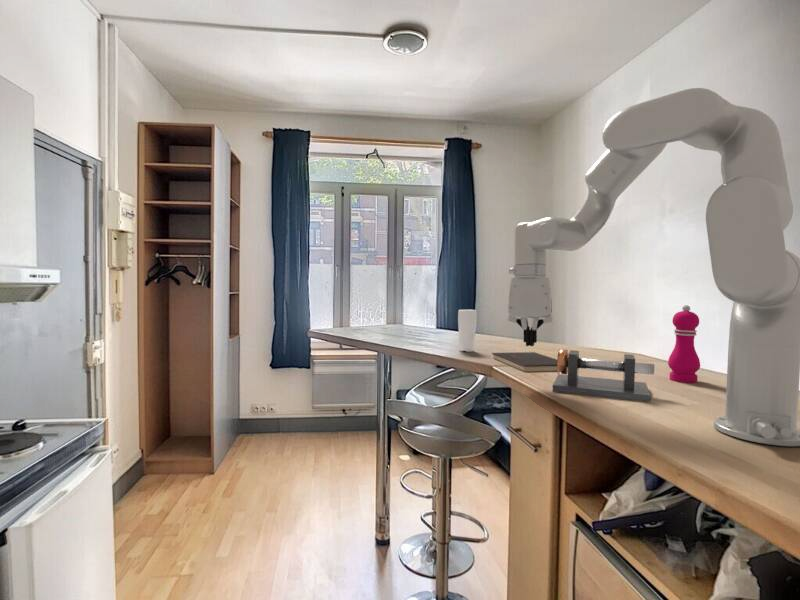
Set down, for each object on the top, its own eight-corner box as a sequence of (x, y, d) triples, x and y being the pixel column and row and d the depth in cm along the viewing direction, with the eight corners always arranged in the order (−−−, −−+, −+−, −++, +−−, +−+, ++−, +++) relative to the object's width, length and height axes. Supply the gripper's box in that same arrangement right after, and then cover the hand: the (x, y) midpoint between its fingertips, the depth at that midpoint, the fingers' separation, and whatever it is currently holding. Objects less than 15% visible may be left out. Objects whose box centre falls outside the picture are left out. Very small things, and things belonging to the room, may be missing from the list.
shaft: (652, 379, 105) (653, 354, 105) (654, 385, 100) (655, 358, 99) (559, 371, 114) (560, 347, 113) (556, 375, 108) (557, 350, 108)
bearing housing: (645, 388, 109) (646, 353, 109) (650, 402, 97) (652, 362, 96) (558, 379, 118) (559, 347, 117) (552, 391, 105) (553, 355, 104)
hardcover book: (523, 373, 128) (523, 365, 128) (491, 359, 151) (491, 352, 151) (574, 372, 131) (574, 364, 131) (536, 358, 154) (536, 352, 154)
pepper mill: (704, 384, 115) (708, 306, 115) (673, 382, 117) (676, 305, 116) (692, 378, 123) (695, 304, 122) (663, 376, 124) (666, 304, 123)
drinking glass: (454, 349, 167) (455, 309, 166) (470, 349, 169) (471, 309, 168) (462, 352, 161) (463, 310, 160) (479, 352, 163) (480, 310, 162)
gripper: (497, 272, 112) (497, 345, 113) (560, 271, 106) (560, 348, 107) (503, 273, 119) (503, 342, 120) (563, 272, 113) (563, 345, 113)
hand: (530, 345), depth 113 cm, fingers closed
